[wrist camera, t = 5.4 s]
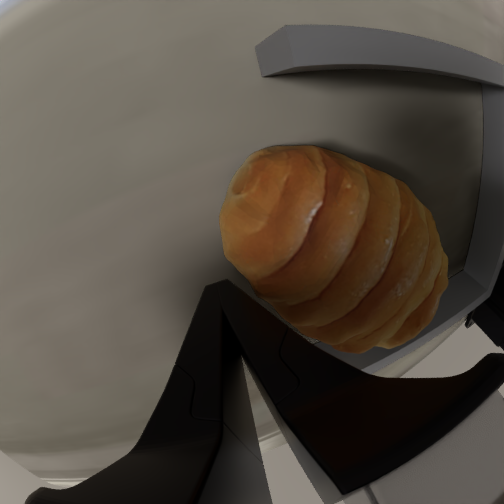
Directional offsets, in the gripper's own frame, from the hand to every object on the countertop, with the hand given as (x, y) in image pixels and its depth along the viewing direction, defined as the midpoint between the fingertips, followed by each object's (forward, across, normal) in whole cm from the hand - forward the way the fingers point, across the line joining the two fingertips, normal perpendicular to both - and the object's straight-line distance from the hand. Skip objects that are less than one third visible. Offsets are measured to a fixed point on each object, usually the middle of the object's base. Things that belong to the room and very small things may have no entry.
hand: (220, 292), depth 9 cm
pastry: (+1, -5, +1) cm, 5 cm away
